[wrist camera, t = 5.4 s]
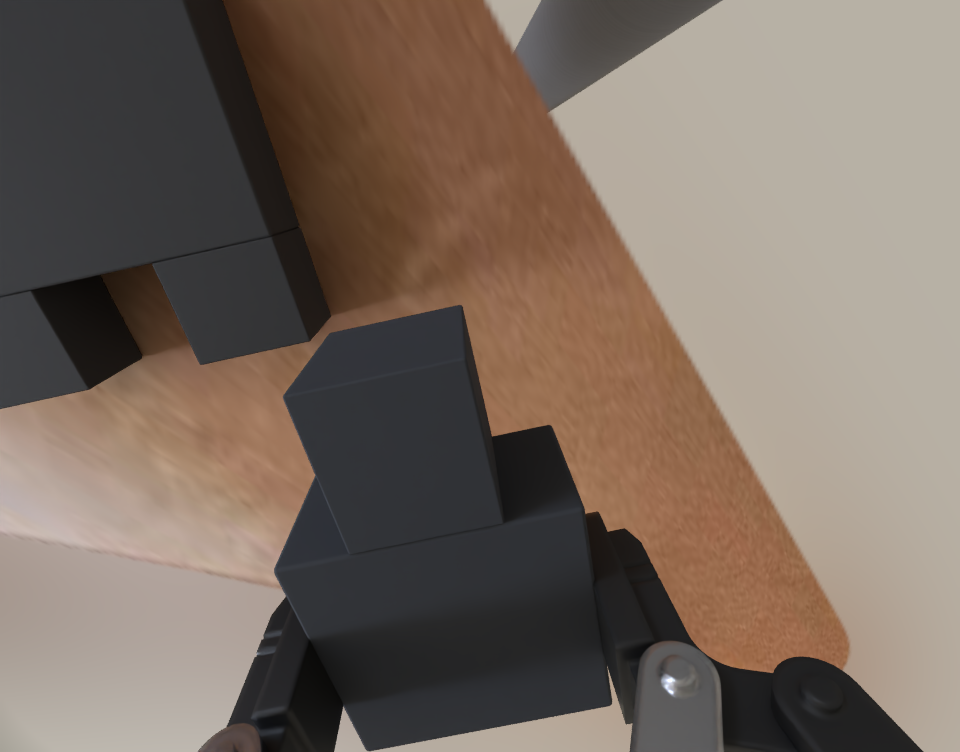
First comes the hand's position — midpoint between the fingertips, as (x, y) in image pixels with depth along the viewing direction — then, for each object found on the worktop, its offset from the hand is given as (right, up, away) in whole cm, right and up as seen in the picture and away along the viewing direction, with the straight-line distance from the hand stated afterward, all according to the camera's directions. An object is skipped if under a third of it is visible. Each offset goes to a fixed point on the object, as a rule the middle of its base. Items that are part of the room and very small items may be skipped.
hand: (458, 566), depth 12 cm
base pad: (-13, +11, +5) cm, 18 cm away
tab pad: (0, +2, 0) cm, 2 cm away
